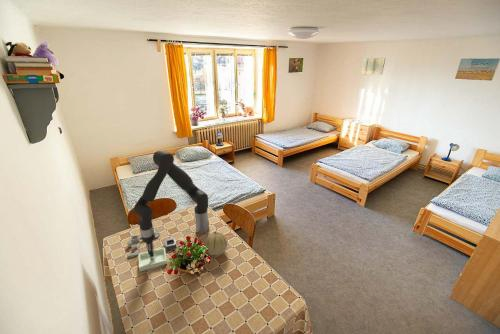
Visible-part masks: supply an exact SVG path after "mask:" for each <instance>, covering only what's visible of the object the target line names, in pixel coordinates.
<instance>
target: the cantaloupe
mask: <svg viewBox="0 0 500 334" xmlns="http://www.w3.org/2000/svg"><path fill="white" fill-rule="evenodd" d="M205 246H206V247H207V248H208V251H207V250H206V252H207V253H208V254H209V255H211V256H220V255H222V254H223V253H225V251H226V250H227V246H228V240H227V237H226V236H225V235H224V234H223V233H222V232H219V231H218V232H217V231H214V232H212V233H210V234H208V236H207V237H206V238H205V241H204V247H205Z"/></svg>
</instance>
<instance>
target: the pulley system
mask: <svg viewBox="0 0 500 334" xmlns="http://www.w3.org/2000/svg"><path fill="white" fill-rule="evenodd" d="M154 233H155V239H158V238H159V237H160V233H159V231H157V230H156V231H154ZM140 240H141V241H140ZM138 243H139V246H138V245H137V244H138ZM142 243H144V242H143V241H142V238H141V237H139V235H133V236H131V238H130V240H128V241H127V242H126V244H127V247H131V249H132V250H131V251H130V252H129V253H128V254H127V255H126V256H127V258H128V259H129V258H134V257H137V256H139V254H140V248H141V244H142ZM137 249H138V250H137ZM136 250H137V251H136Z"/></svg>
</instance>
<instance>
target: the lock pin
mask: <svg viewBox="0 0 500 334" xmlns="http://www.w3.org/2000/svg"><path fill="white" fill-rule="evenodd" d="M154 245H155V244H153V254H154V256H153V257H150V254H149V258H150V260H151V261H152V260H155V258H156V257H155V252H154V250H155V248H154ZM151 248H152V247H151Z"/></svg>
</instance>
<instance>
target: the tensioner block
mask: <svg viewBox="0 0 500 334" xmlns="http://www.w3.org/2000/svg"><path fill="white" fill-rule="evenodd" d="M164 245H165V251H168V250H172V249H173V250H174V249H176V248H178V247H177V246H178V245H177V241H176V237H172V238H168V239H165V240H164Z"/></svg>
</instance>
